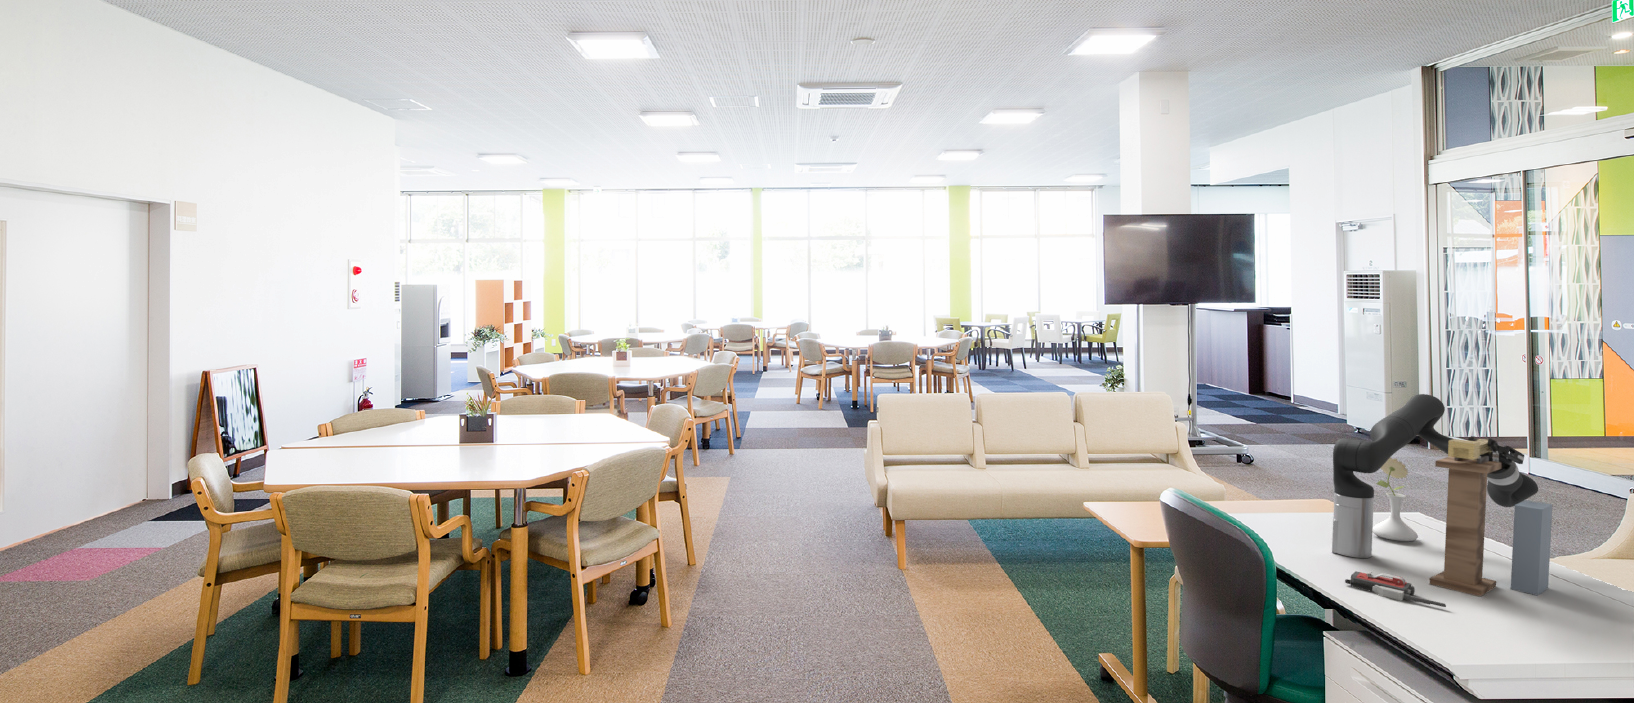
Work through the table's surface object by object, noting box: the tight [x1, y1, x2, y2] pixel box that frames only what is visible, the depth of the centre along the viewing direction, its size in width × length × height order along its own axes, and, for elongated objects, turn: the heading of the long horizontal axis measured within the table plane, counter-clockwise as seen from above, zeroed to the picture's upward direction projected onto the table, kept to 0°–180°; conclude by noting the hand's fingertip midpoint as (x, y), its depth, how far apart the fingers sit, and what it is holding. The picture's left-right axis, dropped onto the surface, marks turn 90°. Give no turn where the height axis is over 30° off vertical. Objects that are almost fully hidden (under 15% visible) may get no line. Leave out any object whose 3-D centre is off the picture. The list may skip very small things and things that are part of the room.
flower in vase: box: [1372, 456, 1419, 542], centre depth 225 cm, size 13×11×25 cm
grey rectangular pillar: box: [1510, 499, 1553, 596], centre depth 183 cm, size 9×5×22 cm, turn 123°
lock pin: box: [1447, 438, 1491, 460], centre depth 186 cm, size 20×5×4 cm, turn 123°
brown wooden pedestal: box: [1429, 456, 1502, 597], centre depth 185 cm, size 12×10×33 cm
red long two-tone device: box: [1344, 570, 1447, 608], centre depth 179 cm, size 9×4×20 cm
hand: (1480, 440), depth 189 cm, fingers closed on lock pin, 3 cm apart
